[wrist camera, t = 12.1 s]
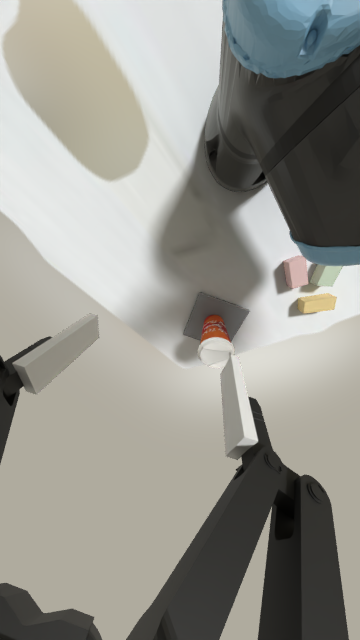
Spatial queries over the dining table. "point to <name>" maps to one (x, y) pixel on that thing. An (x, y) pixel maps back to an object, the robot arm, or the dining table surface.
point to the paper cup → (215, 343)
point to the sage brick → (325, 275)
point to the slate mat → (214, 306)
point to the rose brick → (296, 271)
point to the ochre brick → (316, 303)
